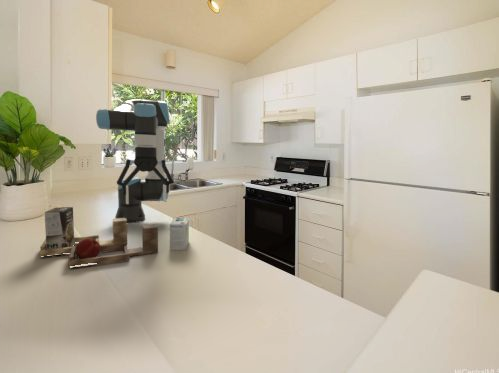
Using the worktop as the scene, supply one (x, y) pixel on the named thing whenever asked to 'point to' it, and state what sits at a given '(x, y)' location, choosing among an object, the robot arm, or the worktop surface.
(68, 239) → the coffee box
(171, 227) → the light bulb box
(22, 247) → the worktop surface
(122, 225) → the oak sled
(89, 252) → the apple
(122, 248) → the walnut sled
